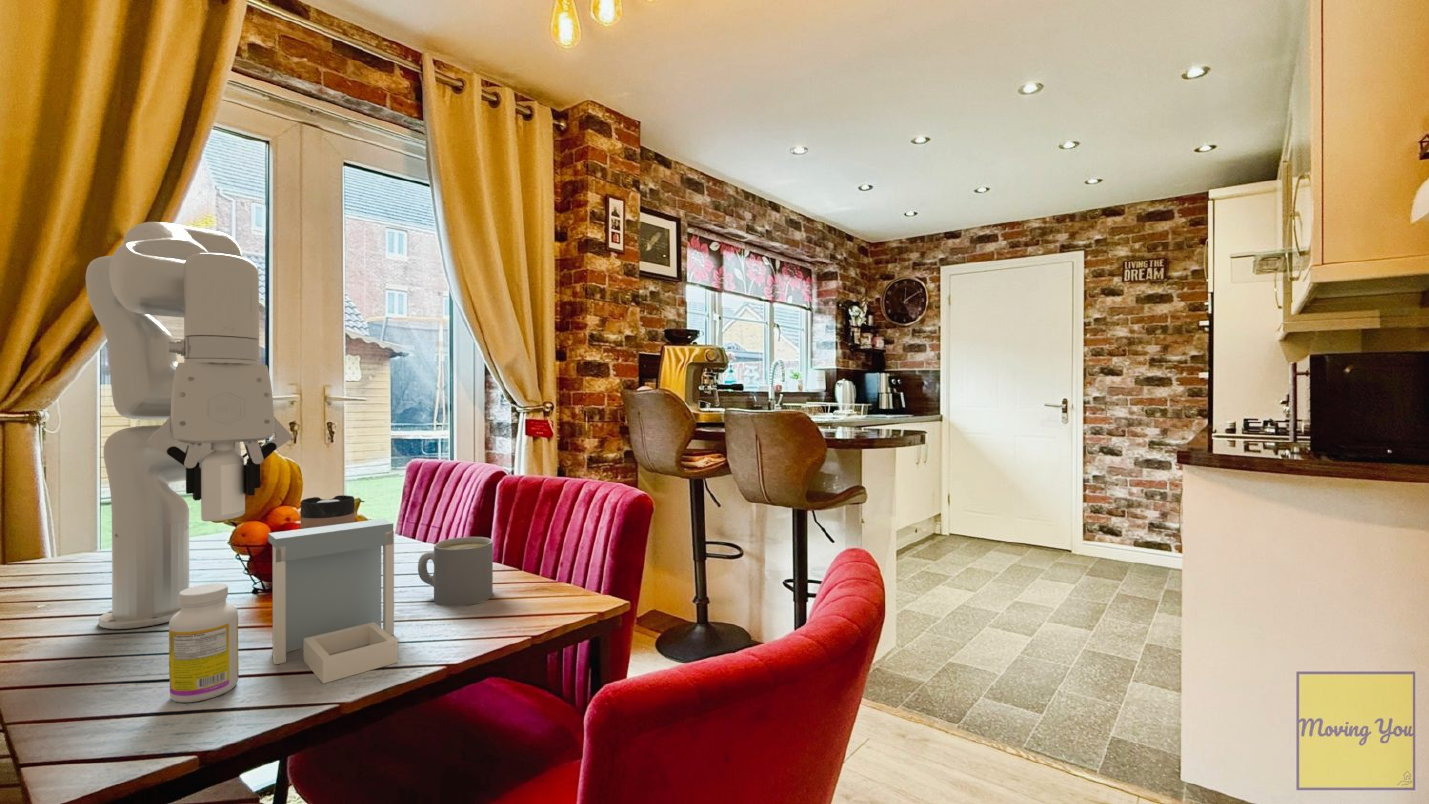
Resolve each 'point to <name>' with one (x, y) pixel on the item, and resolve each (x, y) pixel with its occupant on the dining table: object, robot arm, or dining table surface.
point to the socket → (350, 651)
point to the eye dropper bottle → (222, 483)
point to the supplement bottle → (203, 644)
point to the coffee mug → (460, 571)
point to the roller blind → (330, 581)
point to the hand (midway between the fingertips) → (224, 495)
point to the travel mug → (327, 511)
